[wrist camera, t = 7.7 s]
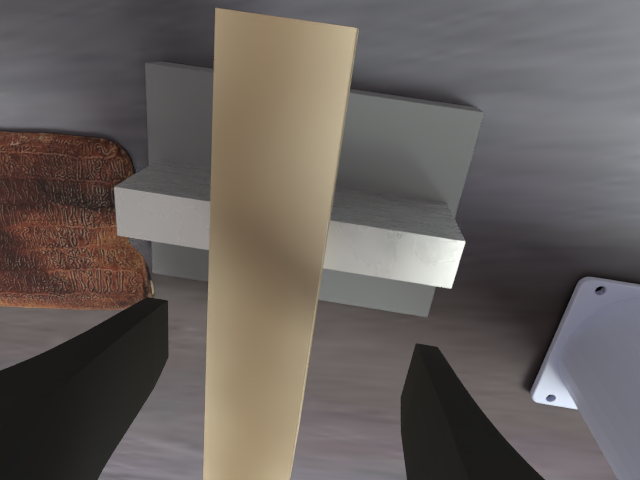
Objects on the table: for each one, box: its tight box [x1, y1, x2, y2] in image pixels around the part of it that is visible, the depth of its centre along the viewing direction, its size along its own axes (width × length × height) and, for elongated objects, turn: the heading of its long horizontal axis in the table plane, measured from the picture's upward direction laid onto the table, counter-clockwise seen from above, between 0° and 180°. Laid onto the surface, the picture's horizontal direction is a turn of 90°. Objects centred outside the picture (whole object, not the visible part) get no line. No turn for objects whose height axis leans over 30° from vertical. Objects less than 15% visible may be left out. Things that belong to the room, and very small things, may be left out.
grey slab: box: [145, 61, 484, 317], centre depth 21 cm, size 14×10×2 cm
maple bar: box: [203, 8, 359, 480], centre depth 15 cm, size 3×16×4 cm, turn 173°
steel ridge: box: [114, 159, 465, 289], centre depth 19 cm, size 13×2×4 cm, turn 82°
